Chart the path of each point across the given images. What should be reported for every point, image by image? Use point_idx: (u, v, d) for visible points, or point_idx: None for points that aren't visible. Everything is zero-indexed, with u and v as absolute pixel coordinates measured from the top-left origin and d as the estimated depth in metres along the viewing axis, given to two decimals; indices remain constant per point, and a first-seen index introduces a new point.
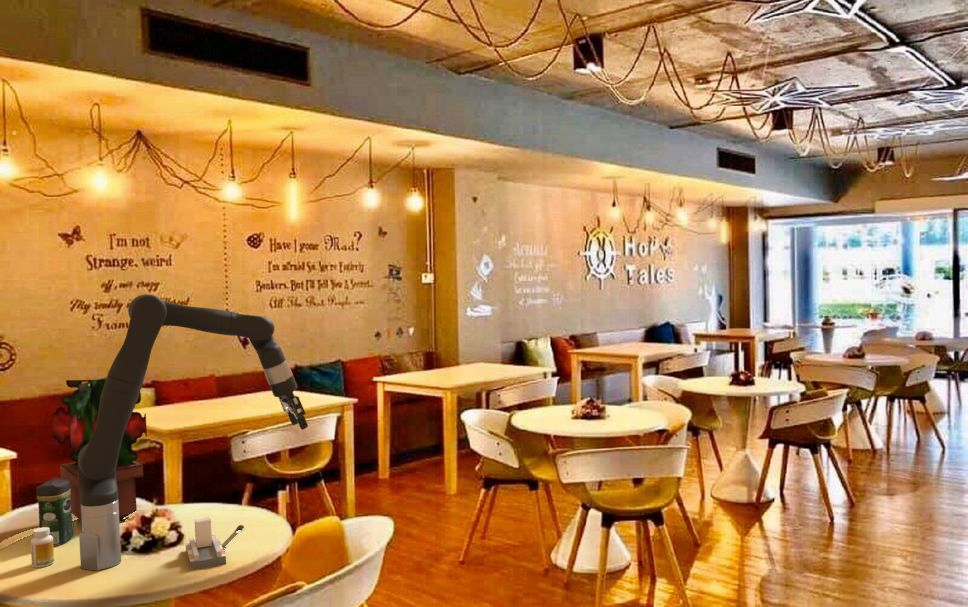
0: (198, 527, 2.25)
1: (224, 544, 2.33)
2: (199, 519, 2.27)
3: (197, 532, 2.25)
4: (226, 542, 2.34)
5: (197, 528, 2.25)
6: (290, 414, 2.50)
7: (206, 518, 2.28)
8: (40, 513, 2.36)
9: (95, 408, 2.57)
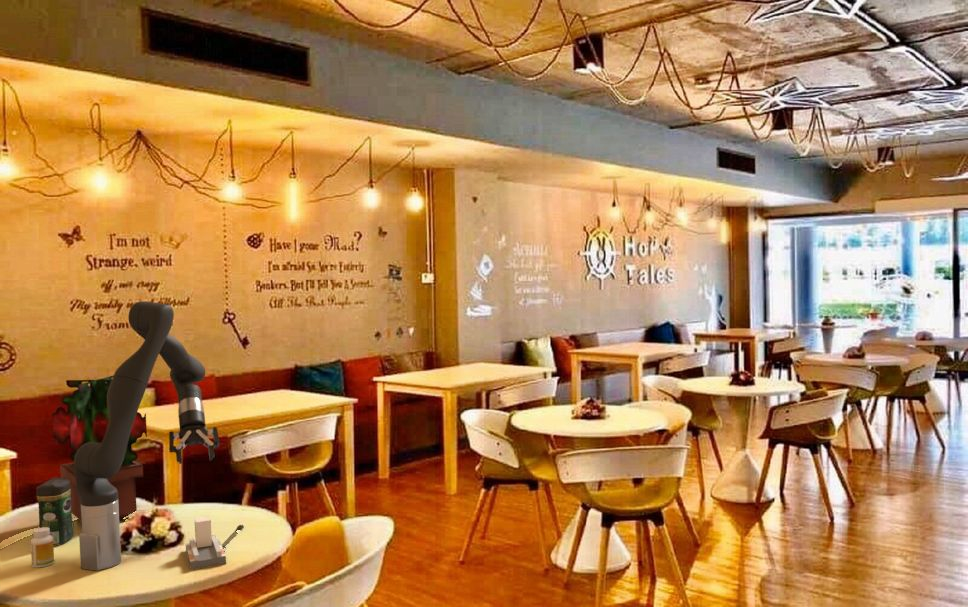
0: (198, 527, 2.25)
1: (224, 544, 2.33)
2: (199, 519, 2.27)
3: (197, 532, 2.25)
4: (226, 542, 2.34)
5: (197, 528, 2.25)
6: (180, 451, 2.41)
7: (206, 518, 2.28)
8: (40, 513, 2.36)
9: (95, 408, 2.57)
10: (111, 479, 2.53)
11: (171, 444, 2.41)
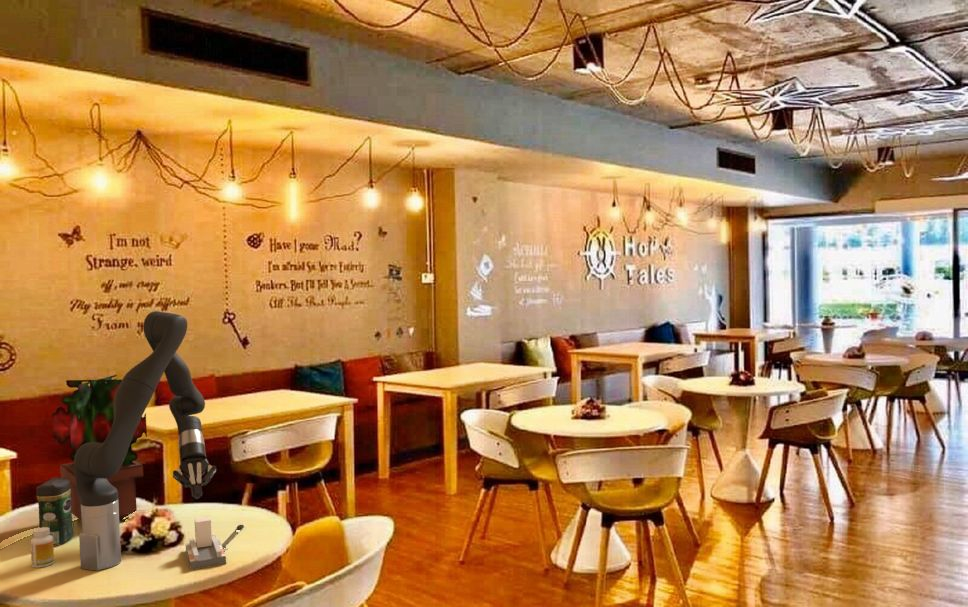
0: (198, 527, 2.25)
1: (224, 543, 2.33)
2: (199, 519, 2.27)
3: (197, 532, 2.25)
4: (226, 541, 2.35)
5: (197, 528, 2.25)
6: None
7: (206, 518, 2.28)
8: (40, 513, 2.36)
9: (95, 408, 2.57)
10: (111, 479, 2.53)
11: (185, 480, 2.40)
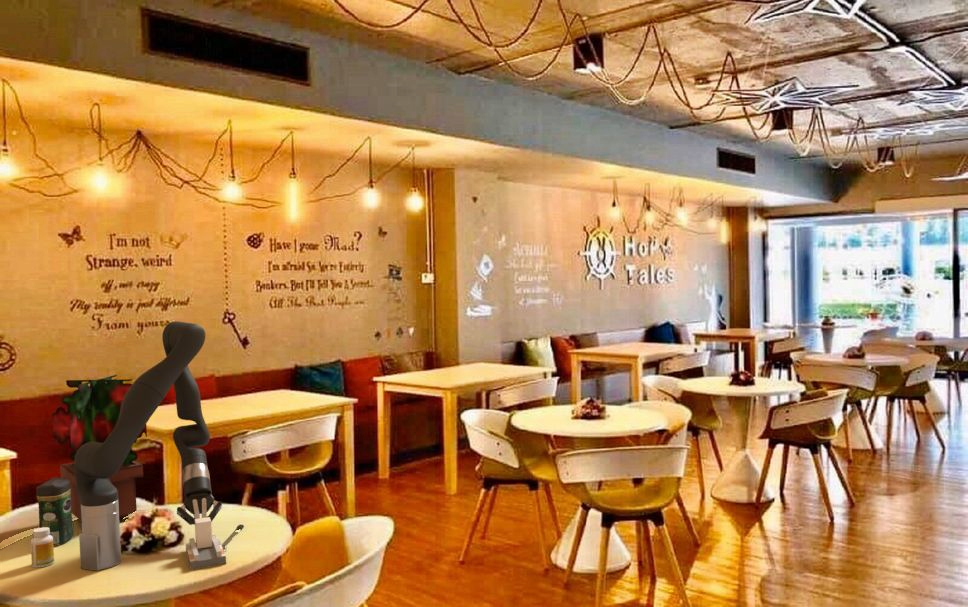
0: (198, 528, 2.24)
1: (224, 543, 2.33)
2: (199, 520, 2.26)
3: (197, 533, 2.24)
4: (226, 541, 2.35)
5: (197, 529, 2.24)
6: None
7: (206, 519, 2.27)
8: (40, 513, 2.36)
9: (95, 408, 2.57)
10: (111, 479, 2.53)
11: (189, 517, 2.30)
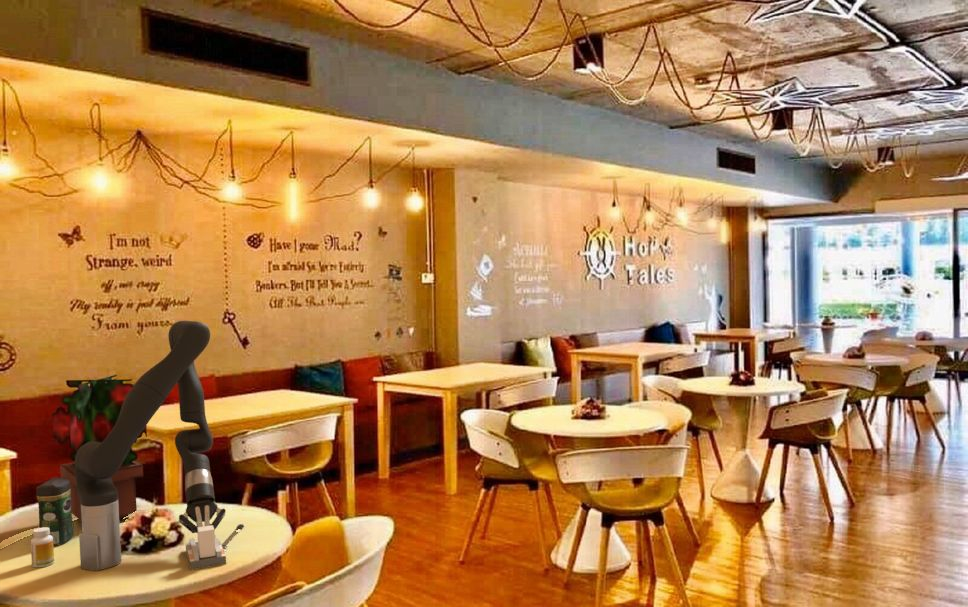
0: (201, 537, 2.17)
1: (225, 543, 2.33)
2: (202, 529, 2.19)
3: (200, 542, 2.17)
4: (227, 541, 2.35)
5: (200, 538, 2.17)
6: None
7: (209, 527, 2.20)
8: (40, 513, 2.36)
9: (95, 408, 2.57)
10: (111, 479, 2.53)
11: (192, 525, 2.23)
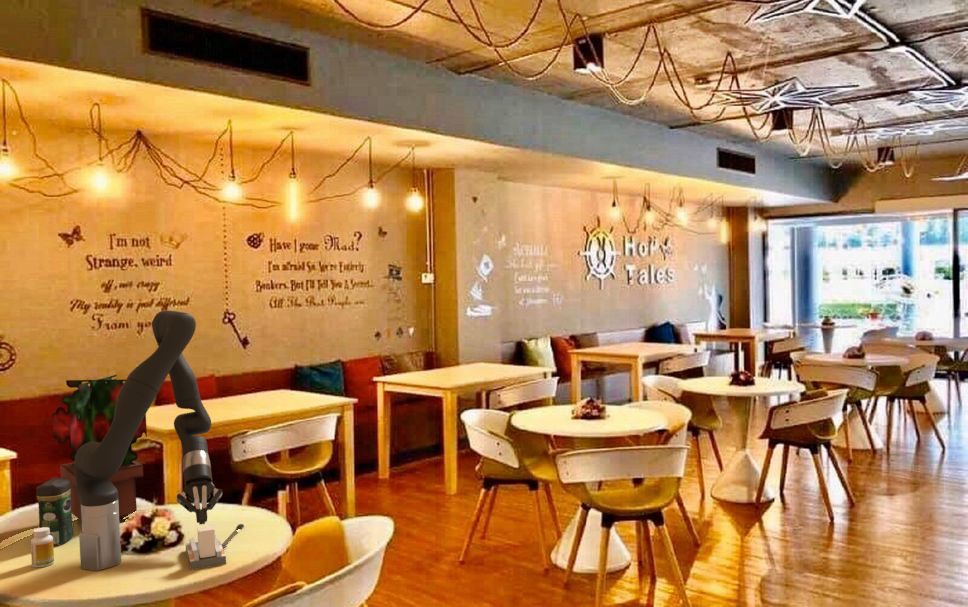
0: (201, 537, 2.17)
1: (225, 543, 2.34)
2: (202, 529, 2.19)
3: (200, 542, 2.17)
4: (227, 541, 2.35)
5: (200, 538, 2.17)
6: None
7: (209, 527, 2.20)
8: (40, 513, 2.36)
9: (95, 408, 2.57)
10: (111, 479, 2.53)
11: (189, 504, 2.28)
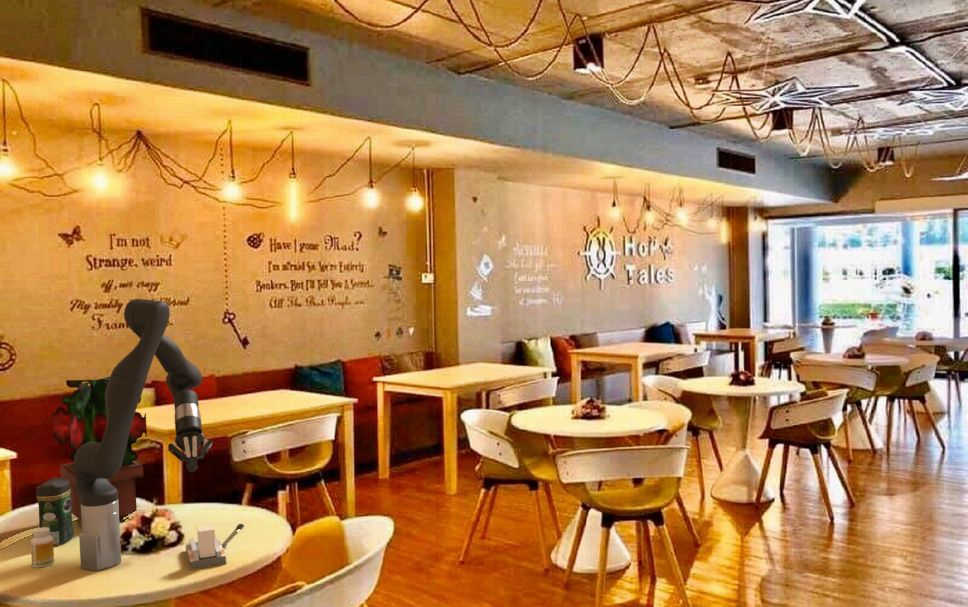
0: (201, 537, 2.17)
1: (225, 543, 2.34)
2: (202, 529, 2.19)
3: (200, 542, 2.17)
4: (227, 541, 2.35)
5: (200, 538, 2.17)
6: None
7: (209, 527, 2.20)
8: (40, 513, 2.36)
9: (95, 408, 2.57)
10: (111, 479, 2.53)
11: (180, 453, 2.38)
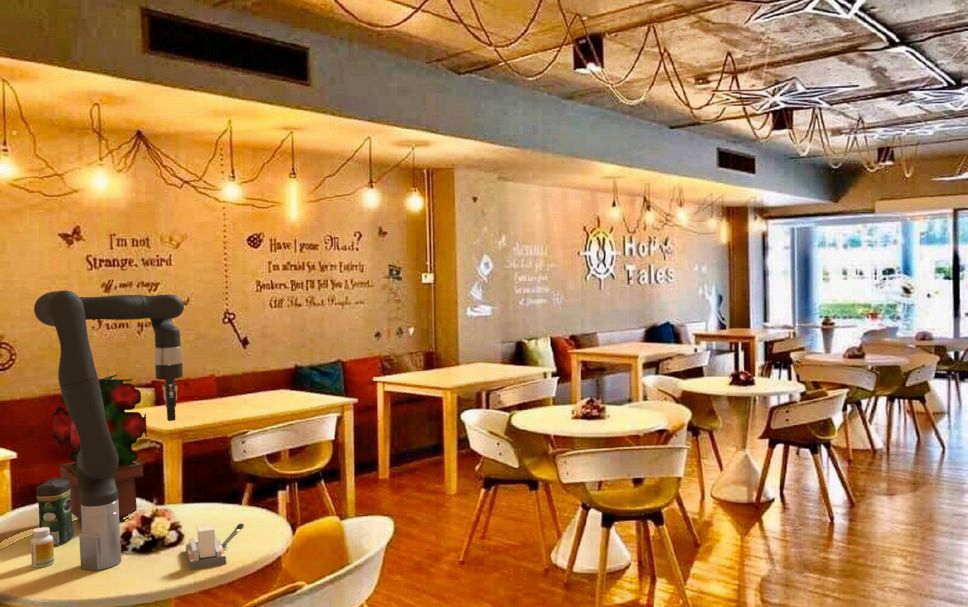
0: (201, 537, 2.17)
1: (225, 542, 2.34)
2: (202, 529, 2.19)
3: (200, 542, 2.17)
4: (227, 540, 2.36)
5: (200, 538, 2.17)
6: None
7: (209, 527, 2.20)
8: (40, 513, 2.36)
9: None
10: None
11: None
